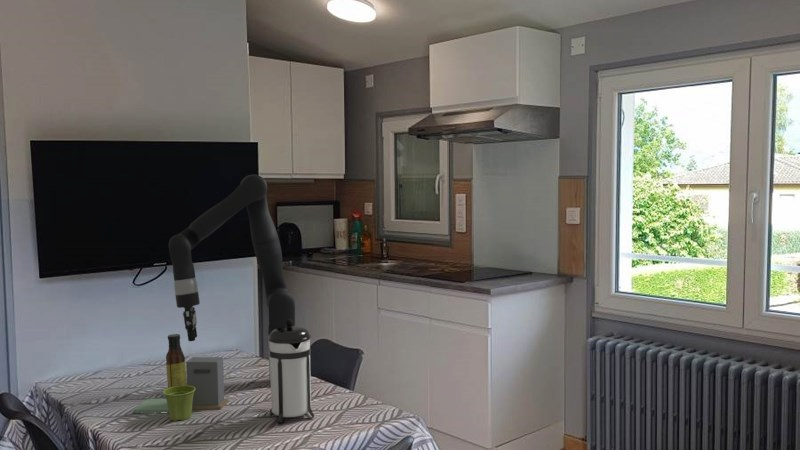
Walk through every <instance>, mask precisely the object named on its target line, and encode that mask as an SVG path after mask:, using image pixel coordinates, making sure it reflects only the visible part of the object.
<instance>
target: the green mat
mask: <svg viewBox="0 0 800 450" xmlns="http://www.w3.org/2000/svg"><path fill="white" fill-rule="evenodd" d="M139 412H143V413H142V414H162V413H161V412H167V413H166V414H169V413H168V412H169V409H168V404H167V399H166V398H147V399H146V400H145V401H144V402H142V403H141V404H139V405H138V406H137V407H135V408H134V409H133V413H134V414H140V413H139ZM154 412H156V413H154Z"/></svg>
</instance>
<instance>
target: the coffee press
mask: <svg viewBox="0 0 800 450" xmlns="http://www.w3.org/2000/svg"><path fill="white" fill-rule="evenodd" d="M286 325H287V326H284V327H279V328H276V329H274V330H273V331H272V332H271V334H270V336H269V337H267V340H269V342H270V349H269V348H268V357H269V356H270V374H271V383H270V400H271V403H270V406H271V408H270V409H269V410H268V411H269V414H270V415H271V416H272V415H275V416H277V420H276V423H277V424H278V425H283V424H284V421H285V419H286V418H296V417H301V416H304V417H306V418H307V419H308V420H313V418H315V413H313V411H312V389H311V388H312V386H311V384H312V383H311V382H312V380H311V378H312V377H311V353H312V352H311V349H312V347H311V338H312V335H311V333H310V332H309V330H308V329H307V328H305V327H303V326H298V325H295V326H292V325H293V321H292V320H291V319H288V320H287V321H286ZM309 414H310V415H309Z"/></svg>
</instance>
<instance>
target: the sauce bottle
mask: <svg viewBox="0 0 800 450" xmlns="http://www.w3.org/2000/svg"><path fill="white" fill-rule="evenodd" d="M167 340H168V350H167V353H166V355H165V361H166V362H165V363H166V379H167V389H168V388H171V387H175V386H184V385H186V386H187V372H186V356H185V355H184V352H183V350H182V347H181V334H180V333H172V334H168V335H167Z"/></svg>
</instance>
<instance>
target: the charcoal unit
mask: <svg viewBox="0 0 800 450" xmlns="http://www.w3.org/2000/svg"><path fill="white" fill-rule="evenodd" d="M185 365H186V380H187V386H193V387H195V388H196V390H195V391H194V395H193V401H192V410H214V411H215V410H222V409H223V408H224V407H225V406H226V405H227V403H228V402H229V398H226V397H225V382H224V381H225V380H224V376H225V375H224V357H223V356H194V357H193V356H192V357H191V358H190V359H188V360H187V361H185Z"/></svg>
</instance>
